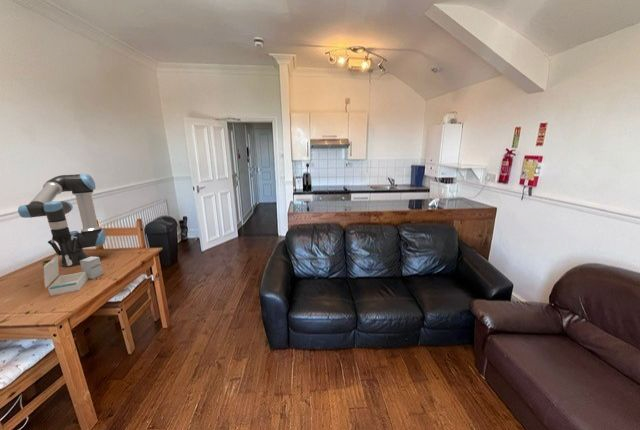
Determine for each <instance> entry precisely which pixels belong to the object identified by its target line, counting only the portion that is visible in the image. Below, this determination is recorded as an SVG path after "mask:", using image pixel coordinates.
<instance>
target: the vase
mask: <svg viewBox="0 0 640 430" xmlns="http://www.w3.org/2000/svg"><path fill="white" fill-rule="evenodd" d="M51 260H52V259H47V260H43V261H42V263H41V264H42V266H43V268H44V266H45V265H46V264H47V263H49V262H50V261H51ZM59 276H60V274H59V275H58V276H57V277H56V278H55V279H54V280H53V281H52V282H51V283H50V284H49V285H51V284H52V283H53V282H54V281H55V280H56V279H57V278H58V277H59Z"/></svg>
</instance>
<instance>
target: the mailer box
mask: <svg viewBox="0 0 640 430" xmlns="http://www.w3.org/2000/svg"><path fill="white" fill-rule="evenodd" d="M87 281H88V277H87V274H86V272H82V271H80V272H75V273H71V274H69V273H68V274H63V275H59V277H58V278H57V279H56V280H55V281H54V282H53V283H52V284H49V285H48V286H47V287H48V289H47V290H48V291H49V295H50V297H52V296H57V295H64V294H69V293H73V292H79V291H80V290H81V289H82V288H83V286H84V285H85V284H86V283H87Z"/></svg>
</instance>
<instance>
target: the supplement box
mask: <svg viewBox="0 0 640 430" xmlns="http://www.w3.org/2000/svg"><path fill="white" fill-rule="evenodd" d="M79 265H80V268H81V272H86V274H87V277H88V279H89V280H94V279H95V278H98V277H100V276H102V275H103V274H104V271H103V267H102V262H101V259H100V257H99V256H88V258H86V259H83V260H80V264H79ZM88 279H87V280H88Z"/></svg>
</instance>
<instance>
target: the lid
mask: <svg viewBox="0 0 640 430" xmlns="http://www.w3.org/2000/svg"><path fill="white" fill-rule="evenodd" d="M50 260H51V261H50V262H49V263H47V264H46V265H45V266H44V267H43V277H44V288H47V287H49V286H50V285H51V284H50V283H51V282H52V281H53V280H54V279H55V278H56V277H57V276H58V275H59V276H60V273H59V272H60V270H59V268H60V267H59V255H55V256H54V257H53V258H52V259H50Z"/></svg>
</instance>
